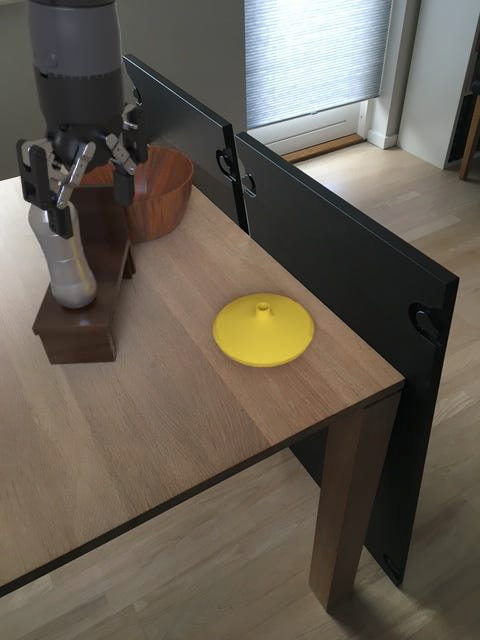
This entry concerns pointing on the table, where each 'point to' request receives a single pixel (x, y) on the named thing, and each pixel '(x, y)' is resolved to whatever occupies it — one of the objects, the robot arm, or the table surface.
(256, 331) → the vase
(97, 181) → the bowl
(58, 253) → the plastic bottle
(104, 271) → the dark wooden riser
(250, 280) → the table surface
